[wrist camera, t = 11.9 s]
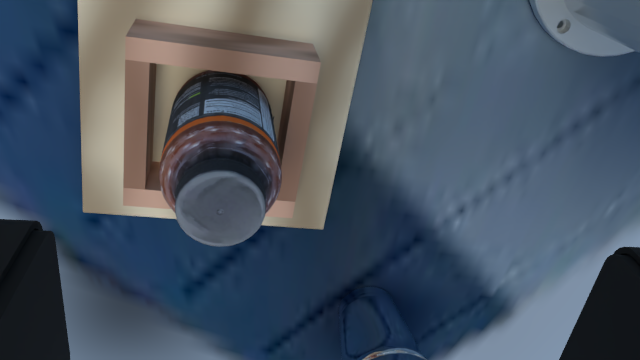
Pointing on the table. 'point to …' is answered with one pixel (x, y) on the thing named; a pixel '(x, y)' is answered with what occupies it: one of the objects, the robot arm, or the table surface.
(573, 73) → the table surface
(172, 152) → the supplement bottle
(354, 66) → the bottle holder
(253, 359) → the table surface
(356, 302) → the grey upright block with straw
